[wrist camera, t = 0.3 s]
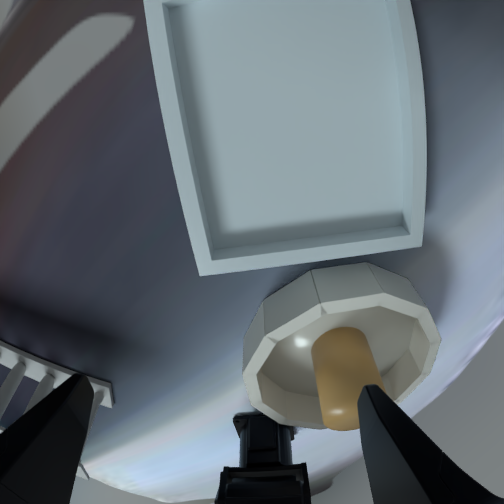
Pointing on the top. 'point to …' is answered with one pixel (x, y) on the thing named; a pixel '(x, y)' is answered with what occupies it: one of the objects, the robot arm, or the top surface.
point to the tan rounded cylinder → (343, 375)
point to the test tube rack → (45, 384)
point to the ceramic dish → (327, 318)
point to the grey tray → (292, 127)
